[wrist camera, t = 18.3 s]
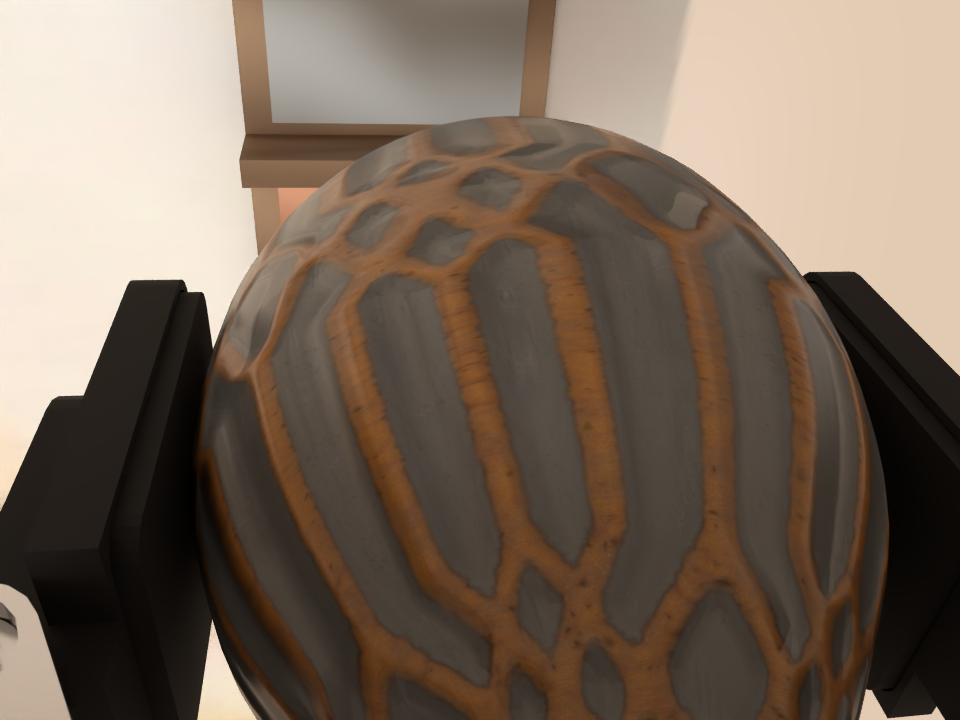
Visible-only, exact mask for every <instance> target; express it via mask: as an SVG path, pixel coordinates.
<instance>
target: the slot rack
mask: <svg viewBox="0 0 960 720" xmlns="http://www.w3.org/2000/svg"><path fill="white" fill-rule="evenodd" d="M232 5H233V14H234V24H235V34H236V44H237V53H238V63H239V73H240V83H241V92H242V102H243V112H244V122H245V132H246V135H245V139H244V143H243V147H242V151H241V156H240V160H239V162H240V171H241V180H242V188H251V190H252V200H253V210H254V219H255V229H256V239H257V249H258V255H259V254H260V253H261V251H262V250H263V249H264V247H265V246H266V244H267V243H268V242H269V240H270V239H271V238H272V236H273V235H274V234H275V232H276V231H277V230H278V228H279V227H280V226H281V225H282V224H283V223H284V222H285V220H286V219H287V218H288V217H289V216H290V215H291V214H292V213H293V211H294V210H296V209H297V208H298V207H299V206H300V205H301V204H302V203H303V202H304V201H305V200H306V199H307V198H308V197H309V196H310V195H311V194H313V193H314V192H315V191H316V190H318V189H319V188H320V187H321V186H322V185H324V184H325V183H326V182H327V181H329V180H330V179H331V178H332V177H334V176H335V175H336V174H337V173H339V172H340V171H342V170H343V169H345V168H346V167H348V166H349V165H351V164H352V163H353V162H355V161H356V160H358V159H360V158H362V157H363V156H365V155H367V154H369V153H370V152H372V151H374V150H376V149H378V148H380V147H382V146H384V145H386V144H388V143H390V142H393V141H395V140H397V139H400V138H402V137H405V136H407V135H410V134H413V133H415V132H418V131H421V130H425V129H428V128H432V127H435V126H438V125H442V124H447V123H452V122H457V121H461V120H468V119H475V118H483V117H498V116H530V117H540V118H544V112H545V102H546V93H547V83H548V74H549V64H550V54H551V45H552V35H553V25H554V16H555V6H556V0H232Z"/></svg>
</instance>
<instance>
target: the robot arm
mask: <svg viewBox="0 0 960 720" xmlns="http://www.w3.org/2000/svg"><path fill="white" fill-rule="evenodd" d="M803 278H804V279H805V280H806V282H807V283H808V284H809V286H810V287H811V288H812V290H813V291H814V293H815V294H816V295H817V297H818V299H819V301H820V302H821V304H822V306H823V307H824V309H825V311H826V313H827V314H828V316H829V318H830V320H831V322H832V324H833V326H834V327H835V329H836V331H837V333H838V335H839V337H840V338H841V341H842V343H843V345H844V347H845V350H846V352H847V354H848V357H849V359H850V361H851V364H852V366H853V369H854V372H855V374H856V377H857V379H858V382H859V384H860V387H861V390H862V393H863V396H864V400H865V403H866V406H867V410H868V413H869V416H870V419H871V423H872V427H873V430H874V434H875V438H876V441H877V445H878V450H879V454H880V459H881V464H882V469H883V473H884V480H885V489H886V498H887V508H888V518H889V552H888V570H887V582H886V588H885V594H884V600H883V606H882V613H881V618H880V623H879V628H878V633H877V638H876V643H875V648H874V653H873V658H872V663H871V668H870V672H869V677H868V682H867V686H866V689H868V690H872V691H873V693H874V695H875V697H876V699H877V700H878V702H879V704H880V706H881V707H882V709H883V711H884V713H885V714H886V716H887V718H895V717H906V716H915V715H925V714H926V715H927V714H932V712H933V711H934V709H935V708H936V706H937V708H938V709H939V711H940V712H941V714H942V716H943V717H944V719H945V720H960V376H959V375H958V374H957V373H956V372H955V371H954V370H953V369H952V368H951V367H950V366H949V365H948V364H947V363H946V362H945V361H944V360H943V359H942V358H941V357H940V356H939V355H938V354H937V353H936V352H935V351H934V350H933V349H932V348H931V347H930V346H929V345H928V344H927V343H926V342H925V341H924V340H923V339H922V338H921V337H920V336H919V335H918V334H917V333H916V332H915V331H914V330H913V329H912V328H911V327H910V326H909V325H908V324H907V323H906V322H905V321H904V320H903V319H902V318H901V317H900V316H899V315H898V313H896V312H895V310H894V309H893V308H892V307H891V306H890V305H889V304H888V303H887V302H886V301H884V299H883V298H882V297H881V296H880V295H879V294H878V293H877V292H876V291H875V290H874V289H873V288H872V287H871V286H870V285H869V284H868V283H867V282H866V281H865V280H864V279H863V278H862V277H861V276H860V275H858V274H857V273H855V272H809V273H807V274H805V275H804V276H803ZM212 352H213V347H212V340H211V333H210V327H209V320H208V313H207V306H206V301H205V297H204V294H203V293H202V292H188V291H187V288H186V285H185V282H184V281H183V280H133V281H130V282H129V284H128V285H127V288H126V290H125V293H124V295H123V298H122V300H121V303H120V305H119V308H118V311H117V313H116V316H115V318H114V321H113V323H112V326H111V328H110V331H109V333H108V336H107V338H106V341H105V343H104V346H103V348H102V351H101V353H100V356H99V358H98V361H97V363H96V366H95V368H94V371H93V373H92V376H91V379H90V381H89V384H88V386H87V389H86V391H85V394H84V396H58V397H57V398H55V399H53V400H52V401H51V403H50V404H49V406H48V407H47V409H46V411H45V413H44V416H43V418H42V420H41V422H40V424H39V427H38V429H37V431H36V433H35V436H34V438H33V440H32V442H31V445H30V447H29V449H28V451H27V454H26V456H25V458H24V460H23V463H22V465H21V467H20V469H19V472H18V474H17V476H16V478H15V481H14V483H13V485H12V487H11V490H10V492H9V494H8V496H7V499H6V501H5V503H4V505H3V508H2V510H1V512H0V720H197V718H198V711H199V704H200V697H201V691H202V684H203V677H204V670H205V663H206V657H207V650H208V643H209V636H210V629H211V623H212V616H211V613H210V610H209V606H208V603H207V599H206V594H205V590H204V585H203V580H202V576H201V571H200V566H199V560H198V555H197V548H196V541H195V533H194V525H193V515H192V497H191V464H192V448H193V441H194V434H195V427H196V421H197V414H198V408H199V402H200V397H201V393H202V389H203V385H204V382H205V378H206V374H207V371H208V367H209V363H210V359H211V356H212Z"/></svg>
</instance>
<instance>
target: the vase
mask: <svg viewBox="0 0 960 720" xmlns="http://www.w3.org/2000/svg"><path fill="white" fill-rule="evenodd" d="M191 497H192V515H193V525H194V533H195V541H196V548H197V555H198V560H199V566H200V571H201V576H202V580H203V585H204V590H205V594H206V599H207V603H208V606H209V610H210V613H211V616H212V619H213V623H214V626H215V629H216V633H217V636H218V639H219V642H220V645H221V649H222V651H223V653H224V656H225V658H226V660H227V663H228V665H229V667H230V670H231V672H232V674H233V677H234V679H235V681H236V683H237V686H238V688H239V690H240V692H241V694H242V696H243V697H244V699H245V701H246V702H247V704H248V706H249V707H250V709H251V711H252V712H253V714H254V715H255V717H256V719H257V720H859V718H860V714H861V710H862V705H863V701H864V696H865V691H866V686H867V682H868V677H869V672H870V668H871V663H872V658H873V653H874V648H875V643H876V638H877V633H878V628H879V623H880V618H881V613H882V606H883V600H884V594H885V588H886V582H887V570H888V552H889V518H888V508H887V498H886V489H885V480H884V473H883V469H882V464H881V459H880V454H879V450H878V445H877V441H876V438H875V434H874V430H873V427H872V423H871V419H870V416H869V413H868V410H867V406H866V403H865V400H864V396H863V393H862V390H861V387H860V384H859V382H858V379H857V377H856V374H855V372H854V369H853V366H852V364H851V361H850V359H849V357H848V354H847V352H846V350H845V347H844V345H843V343H842V341H841V338H840V337H839V335H838V333H837V331H836V329H835V327H834V326H833V324H832V322H831V320H830V318H829V316H828V314H827V313H826V311H825V309H824V307H823V306H822V304H821V302H820V301H819V299H818V297H817V295H816V294H815V293H814V291H813V290H812V288H811V287H810V286H809V284H808V283H807V282H806V280H805V279H804V278H803V276H802V275H801V274H800V273H799V271H798V270H797V269H796V267H795V266H794V265H793V263H792V262H791V261H790V260H789V258H788V257H787V256H786V254H785V253H784V252H783V251H782V250H781V249H780V248H779V247H778V245H777V244H776V243H775V242H774V241H773V240H772V239H771V238H770V237H769V236H768V235H767V234H766V233H765V232H764V231H763V230H762V229H761V228H760V227H759V226H758V225H757V224H756V222H754V221H753V219H751V217H750V216H749V215H747V213H745V212H744V211H743V210H742V209H741V208H740V207H739V206H737V205H736V204H735V203H734V202H733V201H732V200H731V199H729V198H728V197H727V196H726V195H724V194H723V193H722V192H721V191H720V190H718V189H717V188H716V187H715V186H713V185H712V184H711V183H710V182H708V181H707V180H706V179H704V178H703V177H702V176H700V175H699V174H697V173H696V172H695V171H693V170H692V169H690V168H689V167H687V166H685V165H683V164H681V163H680V162H678V161H677V160H675V159H673V158H671V157H669V156H667V155H665V154H663V153H661V152H658V151H656V150H654V149H652V148H650V147H648V146H646V145H643V144H641V143H639V142H637V141H635V140H633V139H630V138H627V137H625V136H622V135H619V134H616V133H614V132H611V131H608V130H604V129H600V128H596V127H593V126H589V125H584V124H579V123H573V122H568V121H562V120H557V119H550V118H540V117H530V116H498V117H483V118H475V119H468V120H461V121H457V122H452V123H447V124H442V125H438V126H435V127H432V128H428V129H425V130H421V131H418V132H415V133H413V134H410V135H407V136H405V137H402V138H400V139H397V140H395V141H393V142H390V143H388V144H386V145H384V146H382V147H380V148H378V149H376V150H374V151H372V152H370V153H369V154H367V155H365V156H363V157H362V158H360V159H358V160H356V161H355V162H353V163H352V164H351V165H349V166H348V167H346V168H345V169H343V170H342V171H340V172H339V173H337V174H336V175H335V176H334V177H332V178H331V179H330V180H329V181H327V182H326V183H325V184H324V185H322V186H321V187H320V188H319V189H318V190H316V191H315V192H314V193H313V194H311V195H310V196H309V197H308V198H307V199H306V200H305V201H304V202H303V203H302V204H301V205H300V206H299V207H298V208H297V209H296V210H294V211H293V213H292V214H291V215H290V216H289V217H288V218H287V219H286V220H285V222H284V223H283V224H282V225H281V226H280V227H279V228H278V230H277V231H276V232H275V234H274V235H273V236H272V238H271V239H270V240H269V242H268V243H267V244H266V246H265V247H264V249H263V250H262V251H261V253H260V254H259V255H258V257H257V258H256V260H255V261H254V262H253V264H252V265H251V267H250V269H249V270H248V272H247V274H246V275H245V277H244V278H243V280H242V282H241V284H240V286H239V288H238V290H237V292H236V294H235V296H234V298H233V300H232V302H231V304H230V307H229V309H228V312H227V314H226V317H225V320H224V322H223V325H222V327H221V330H220V332H219V335H218V338H217V340H216V343H215V346H214V348H213V352H212V356H211V359H210V363H209V367H208V371H207V374H206V378H205V382H204V385H203V389H202V393H201V397H200V402H199V408H198V414H197V421H196V427H195V434H194V441H193V448H192V464H191Z"/></svg>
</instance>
